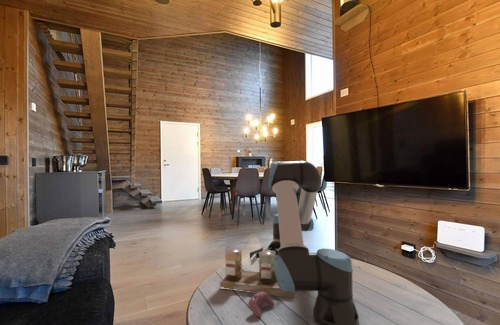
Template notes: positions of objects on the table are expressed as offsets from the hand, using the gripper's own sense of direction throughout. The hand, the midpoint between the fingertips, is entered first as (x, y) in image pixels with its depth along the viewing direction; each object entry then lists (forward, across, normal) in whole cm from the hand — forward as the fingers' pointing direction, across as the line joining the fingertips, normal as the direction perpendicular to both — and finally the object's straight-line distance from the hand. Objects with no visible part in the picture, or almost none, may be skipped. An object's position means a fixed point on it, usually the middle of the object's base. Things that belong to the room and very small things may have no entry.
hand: (266, 263), depth 111 cm
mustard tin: (-1, +16, -8) cm, 18 cm away
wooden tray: (-3, +4, -11) cm, 12 cm away
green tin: (-2, 0, -9) cm, 9 cm away
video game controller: (+16, -2, -11) cm, 20 cm away
